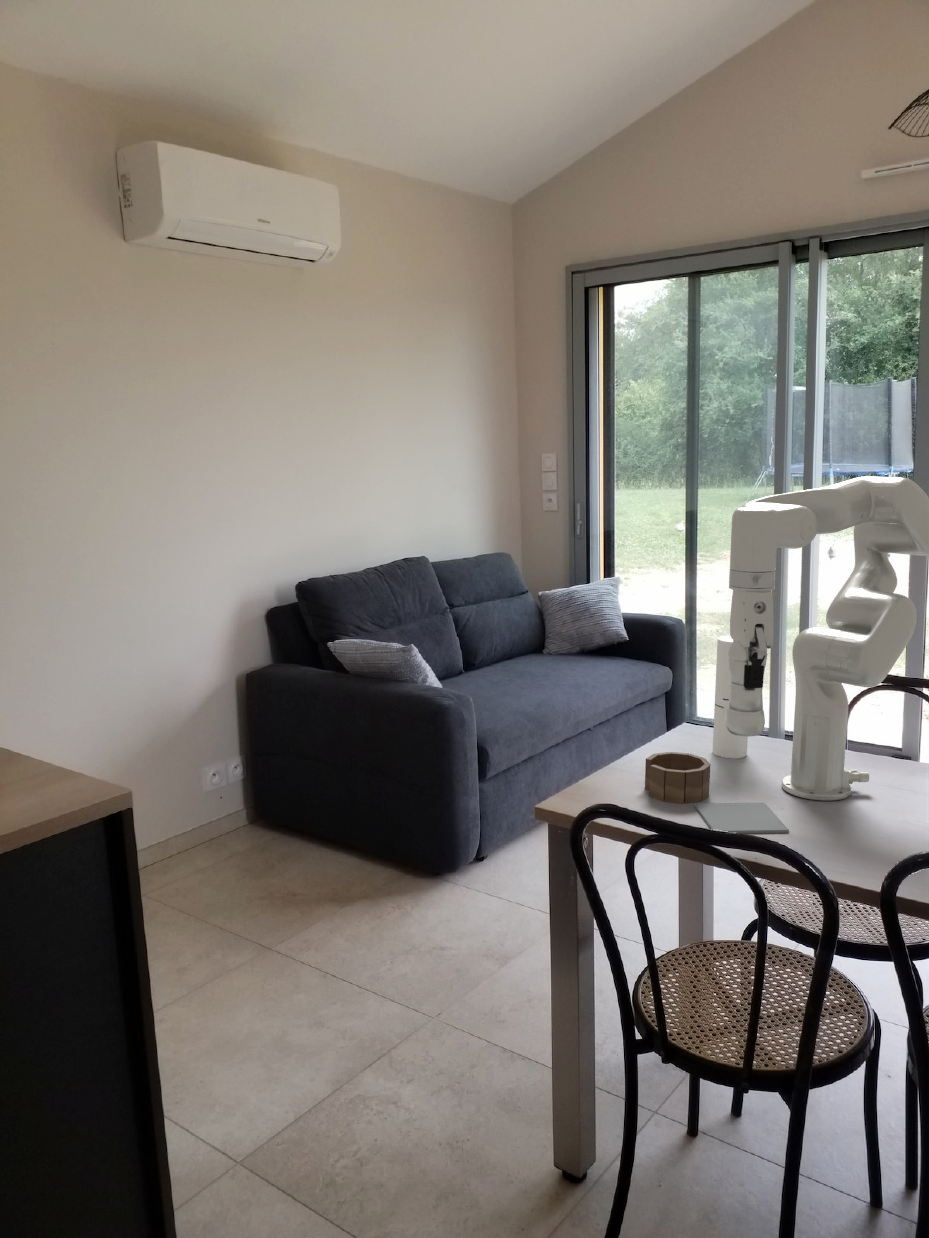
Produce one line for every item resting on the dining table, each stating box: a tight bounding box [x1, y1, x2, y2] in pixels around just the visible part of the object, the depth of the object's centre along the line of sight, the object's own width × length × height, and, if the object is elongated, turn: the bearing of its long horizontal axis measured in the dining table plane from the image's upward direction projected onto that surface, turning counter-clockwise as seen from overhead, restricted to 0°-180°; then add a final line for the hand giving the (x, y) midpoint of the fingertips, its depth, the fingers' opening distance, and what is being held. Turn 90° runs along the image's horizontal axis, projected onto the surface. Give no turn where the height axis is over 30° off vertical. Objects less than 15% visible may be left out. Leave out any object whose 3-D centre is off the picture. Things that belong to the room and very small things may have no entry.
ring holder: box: [644, 751, 711, 804], centre depth 191 cm, size 12×12×6 cm
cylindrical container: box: [712, 635, 749, 759], centre depth 213 cm, size 7×7×25 cm
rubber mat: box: [693, 802, 790, 834], centre depth 178 cm, size 13×13×1 cm
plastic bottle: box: [725, 639, 768, 737], centre depth 174 cm, size 6×7×20 cm
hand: (747, 681), depth 174 cm, fingers closed on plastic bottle, 6 cm apart
